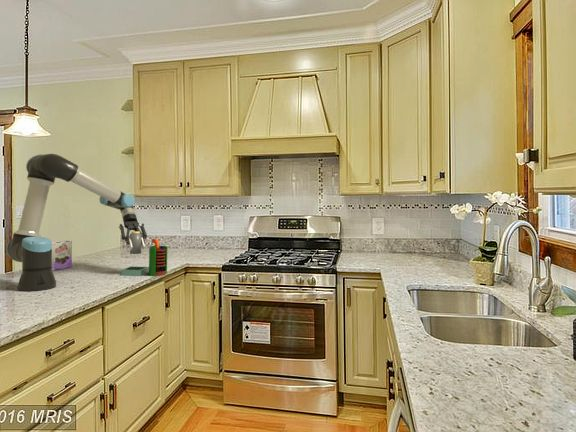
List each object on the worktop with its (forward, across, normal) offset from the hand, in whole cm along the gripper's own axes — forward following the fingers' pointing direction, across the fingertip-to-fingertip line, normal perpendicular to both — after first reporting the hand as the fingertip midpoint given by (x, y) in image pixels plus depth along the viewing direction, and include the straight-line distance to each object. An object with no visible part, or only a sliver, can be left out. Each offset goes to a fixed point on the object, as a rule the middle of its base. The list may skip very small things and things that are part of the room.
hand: (137, 248), depth 213 cm
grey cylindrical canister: (0, 0, -5) cm, 5 cm away
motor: (+14, -10, -8) cm, 19 cm away
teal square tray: (+8, 0, -13) cm, 15 cm away
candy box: (-19, +33, -40) cm, 56 cm away
